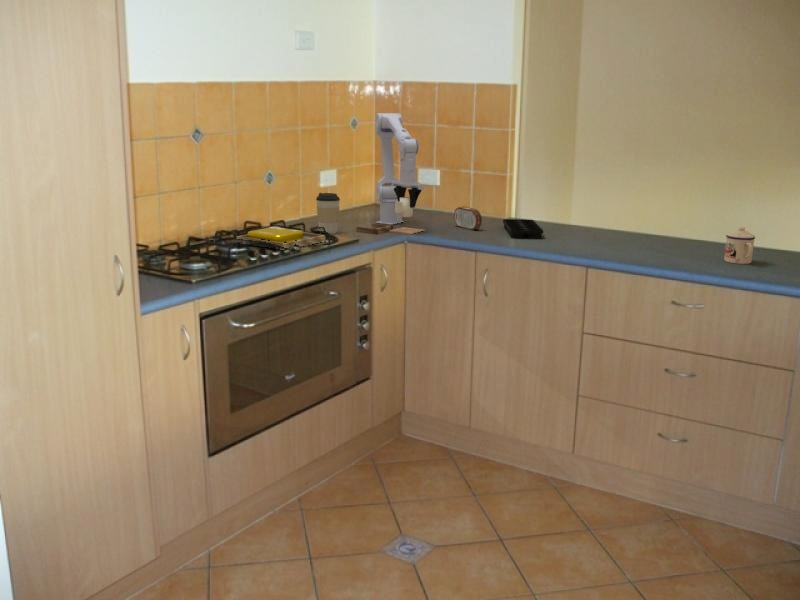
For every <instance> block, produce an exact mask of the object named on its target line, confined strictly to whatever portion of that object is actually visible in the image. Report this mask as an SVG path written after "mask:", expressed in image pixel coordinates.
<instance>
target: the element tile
mask: <svg viewBox="0 0 800 600" xmlns="http://www.w3.org/2000/svg"><path fill="white" fill-rule="evenodd" d="M303 232H304V231H303V230H300V229H293V228H291V229H290V228H285V227H280V226H270V227H265V228H261V229H256V230H254V229H253V230H250V231H249V230H248V232H247V234H248V238H255V239H265V240H270V241H275V242H281V243H284V242H285V241H286V242H292V241H295V240H301V239H303Z"/></svg>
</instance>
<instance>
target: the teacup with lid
mask: <svg viewBox="0 0 800 600" xmlns="http://www.w3.org/2000/svg"><path fill="white" fill-rule="evenodd" d="M725 236H726V241H725V249H724V256H723V257H724V258H723V259H724V261H725V262H727V263H729V264H735V265H736V264H738V265H748V264H751V263H752V261H753V260H752V259H753V253H754V246H755V239H756V236H755V234H752V233H750V232H749V231H747V230H746V229H745V227H743V226H739V227H738V228H737V229H735V230H733V231H731V232H728V233H726V235H725Z"/></svg>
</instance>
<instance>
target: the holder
mask: <svg viewBox="0 0 800 600" xmlns="http://www.w3.org/2000/svg"><path fill="white" fill-rule="evenodd" d="M393 229H394V226H393V225H388V224H380V223H371V227H365V226H364V227H363V226H356V232H357V233H358V232H359V233H364V234H372V235H377V234H382V233H383V234H384V233H387V232H388V233H389V230H393Z"/></svg>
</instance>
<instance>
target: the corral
mask: <svg viewBox="0 0 800 600" xmlns="http://www.w3.org/2000/svg"><path fill="white" fill-rule="evenodd" d="M303 235H306V236H310V237H311V238H306V239H301V240H297V241H292V242H287V243H281V242H275V241H268V240H261V239H255V238H248V233H246V234H242V235H237V236H236V240H237V239H243V240H252V241H261V242H266V243H271V244H275V245H278V246H281V247H284V248H289V247H292V246H294V245H295V244H296V245H299V246H306V247H309V246H308V245H310V246H313V245H312V244H315V243H319V242H322V241H325V242H326V234H321V233H312V232H305V231H303ZM319 244H320V243H319ZM315 245H316V244H315Z"/></svg>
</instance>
